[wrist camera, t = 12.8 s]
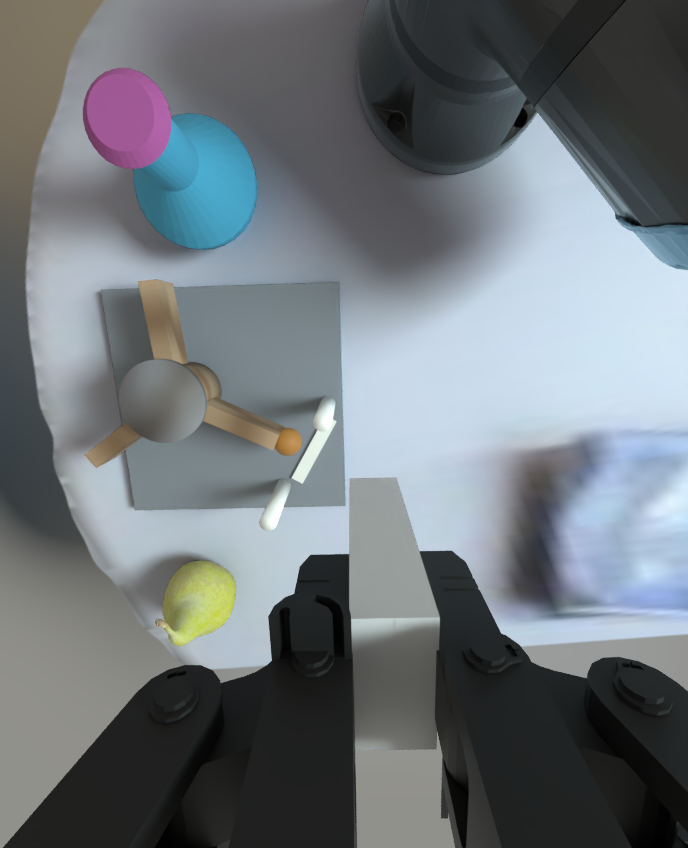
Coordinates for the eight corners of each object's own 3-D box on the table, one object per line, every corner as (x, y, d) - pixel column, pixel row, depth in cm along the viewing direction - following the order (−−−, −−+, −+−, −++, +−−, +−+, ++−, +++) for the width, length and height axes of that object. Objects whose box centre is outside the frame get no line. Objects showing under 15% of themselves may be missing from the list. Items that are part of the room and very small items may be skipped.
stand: (107, 290, 37) (32, 278, 29) (338, 283, 37) (335, 269, 28) (139, 506, 42) (84, 552, 33) (345, 501, 42) (344, 547, 33)
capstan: (115, 445, 39) (67, 469, 32) (169, 280, 36) (128, 269, 29) (273, 510, 40) (258, 545, 34) (339, 356, 37) (337, 362, 30)
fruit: (183, 605, 45) (124, 704, 33) (175, 542, 43) (110, 622, 31) (245, 605, 44) (207, 703, 33) (239, 542, 43) (198, 621, 31)
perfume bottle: (180, 122, 34) (53, -31, 20) (283, 169, 35) (235, 55, 20) (148, 233, 36) (12, 168, 22) (247, 275, 37) (179, 240, 22)
